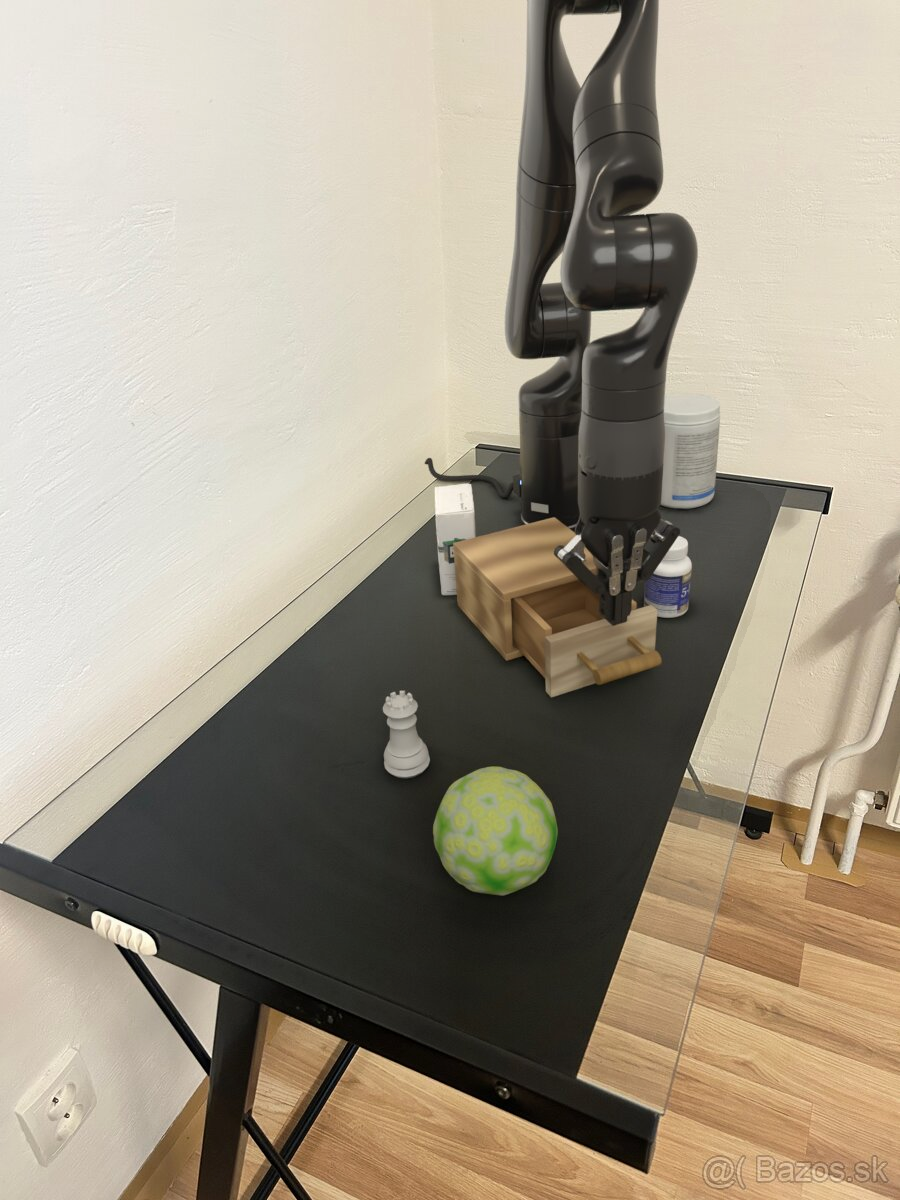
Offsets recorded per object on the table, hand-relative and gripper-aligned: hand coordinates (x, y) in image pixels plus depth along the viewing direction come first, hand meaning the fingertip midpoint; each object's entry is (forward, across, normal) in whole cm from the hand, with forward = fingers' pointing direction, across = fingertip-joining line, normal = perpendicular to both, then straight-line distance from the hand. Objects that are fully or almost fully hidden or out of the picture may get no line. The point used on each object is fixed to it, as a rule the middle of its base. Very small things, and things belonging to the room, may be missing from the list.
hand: (614, 620), depth 87 cm
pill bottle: (+10, -15, -12) cm, 21 cm away
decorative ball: (+9, +21, +16) cm, 28 cm away
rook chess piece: (+10, +23, 0) cm, 25 cm away
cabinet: (+10, 0, -18) cm, 20 cm away
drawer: (+9, 0, -5) cm, 10 cm away
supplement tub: (+10, -35, -37) cm, 52 cm away
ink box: (+10, +4, -31) cm, 33 cm away
